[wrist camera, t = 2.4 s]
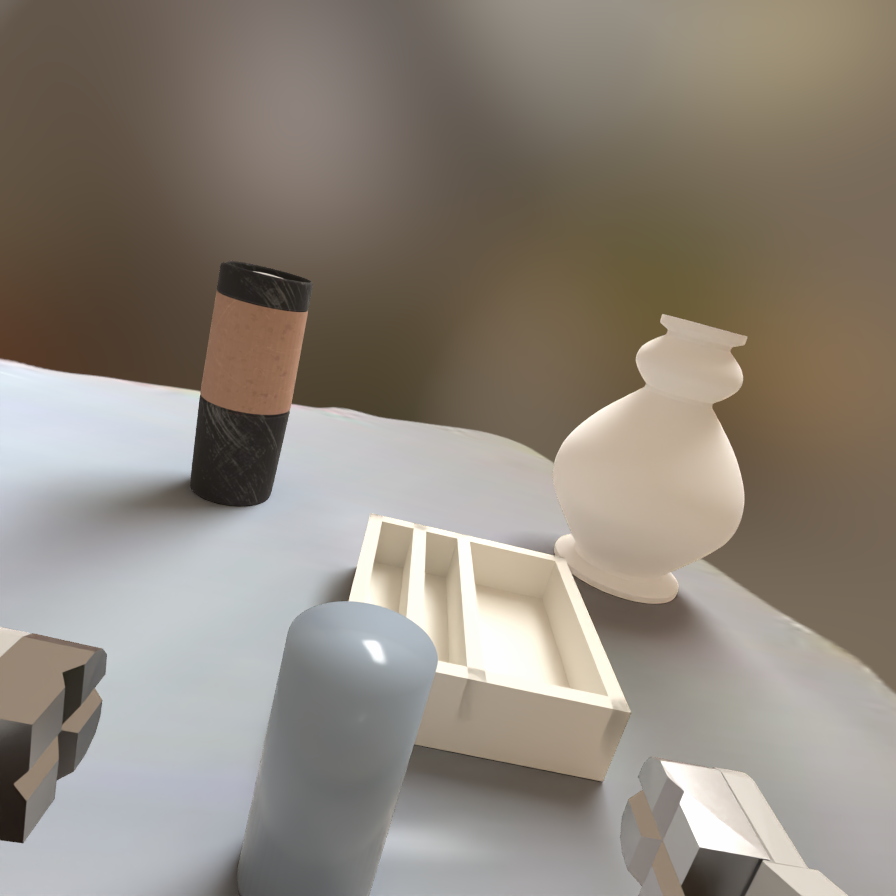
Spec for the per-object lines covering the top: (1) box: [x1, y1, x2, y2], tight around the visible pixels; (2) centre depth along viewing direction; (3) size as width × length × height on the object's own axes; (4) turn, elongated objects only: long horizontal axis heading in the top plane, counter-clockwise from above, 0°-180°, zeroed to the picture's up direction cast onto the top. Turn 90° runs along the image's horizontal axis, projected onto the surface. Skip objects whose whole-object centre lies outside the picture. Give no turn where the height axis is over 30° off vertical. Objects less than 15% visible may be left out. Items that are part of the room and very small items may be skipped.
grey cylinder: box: [237, 601, 438, 896], centre depth 24 cm, size 6×6×11 cm
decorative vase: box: [553, 314, 747, 604], centre depth 60 cm, size 18×18×25 cm
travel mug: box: [191, 261, 312, 506], centre depth 55 cm, size 8×8×20 cm
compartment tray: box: [349, 513, 631, 781], centre depth 42 cm, size 16×18×5 cm
